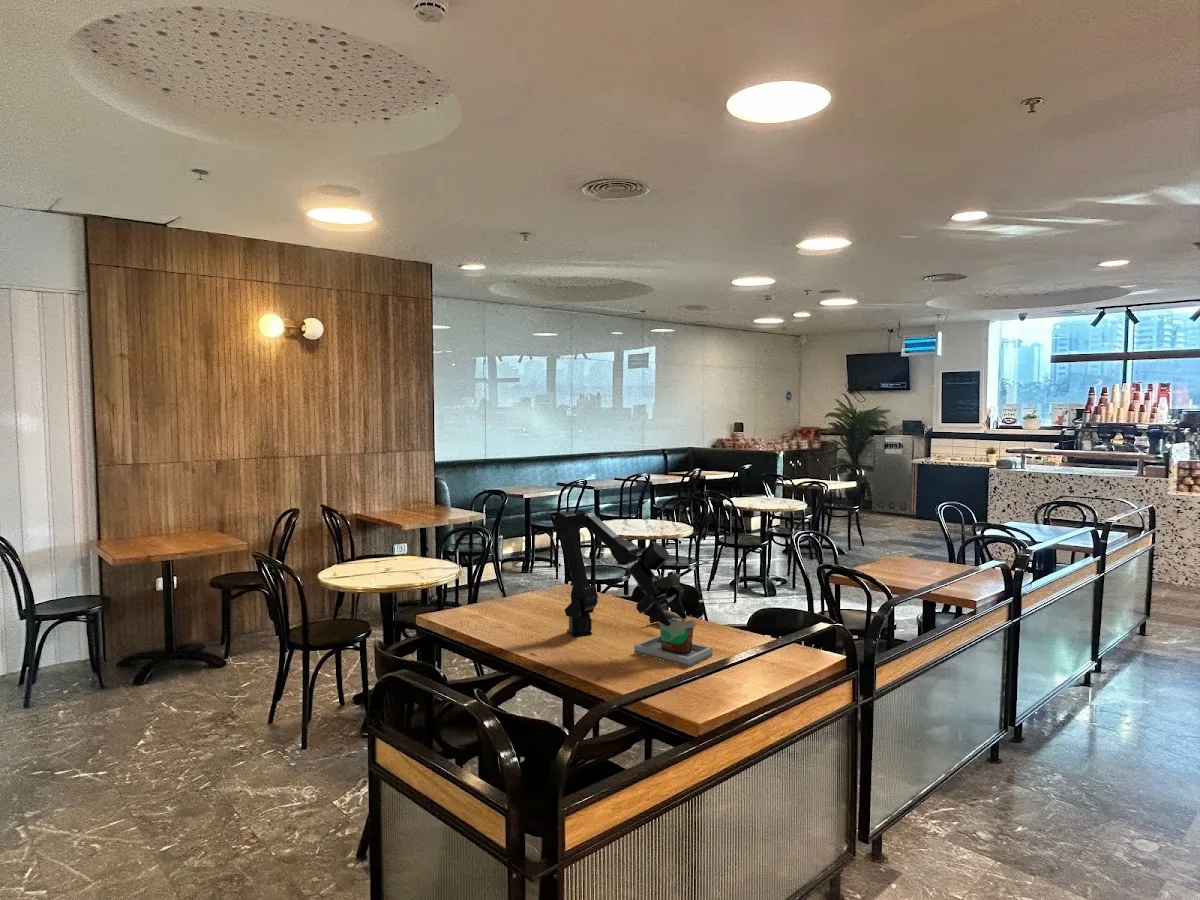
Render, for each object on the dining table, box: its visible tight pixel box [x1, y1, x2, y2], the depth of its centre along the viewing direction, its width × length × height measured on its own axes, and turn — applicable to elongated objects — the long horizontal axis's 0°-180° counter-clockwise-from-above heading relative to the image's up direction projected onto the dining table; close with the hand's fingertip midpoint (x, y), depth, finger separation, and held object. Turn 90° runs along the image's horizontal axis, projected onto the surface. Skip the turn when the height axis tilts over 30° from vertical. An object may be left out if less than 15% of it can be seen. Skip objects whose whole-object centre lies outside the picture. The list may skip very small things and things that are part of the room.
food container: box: [656, 616, 696, 654], centre depth 216 cm, size 12×6×10 cm, turn 51°
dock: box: [633, 634, 713, 668], centre depth 217 cm, size 13×19×2 cm
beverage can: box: [649, 602, 685, 624], centre depth 246 cm, size 9×8×12 cm
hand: (677, 621), depth 215 cm, fingers open, 9 cm apart
